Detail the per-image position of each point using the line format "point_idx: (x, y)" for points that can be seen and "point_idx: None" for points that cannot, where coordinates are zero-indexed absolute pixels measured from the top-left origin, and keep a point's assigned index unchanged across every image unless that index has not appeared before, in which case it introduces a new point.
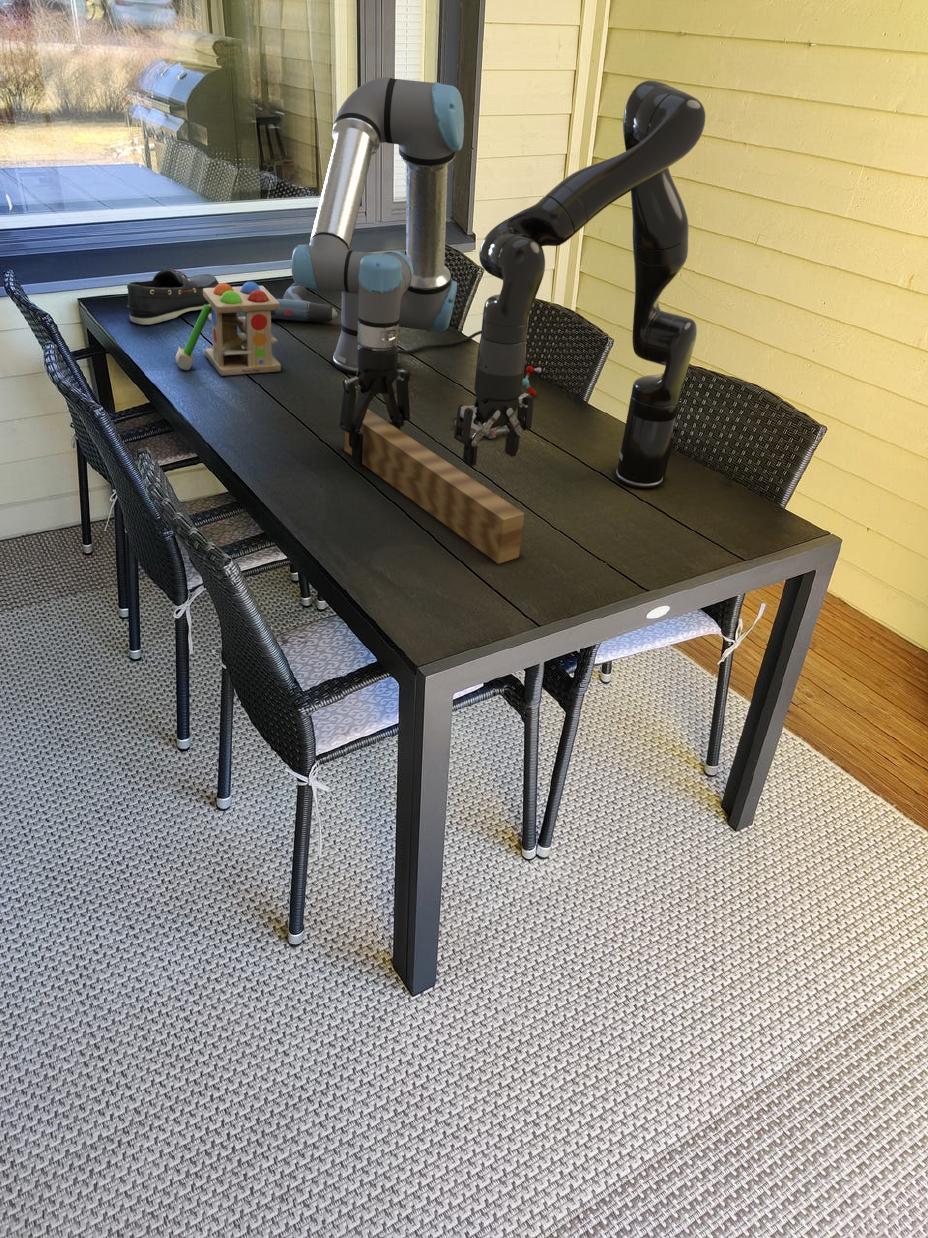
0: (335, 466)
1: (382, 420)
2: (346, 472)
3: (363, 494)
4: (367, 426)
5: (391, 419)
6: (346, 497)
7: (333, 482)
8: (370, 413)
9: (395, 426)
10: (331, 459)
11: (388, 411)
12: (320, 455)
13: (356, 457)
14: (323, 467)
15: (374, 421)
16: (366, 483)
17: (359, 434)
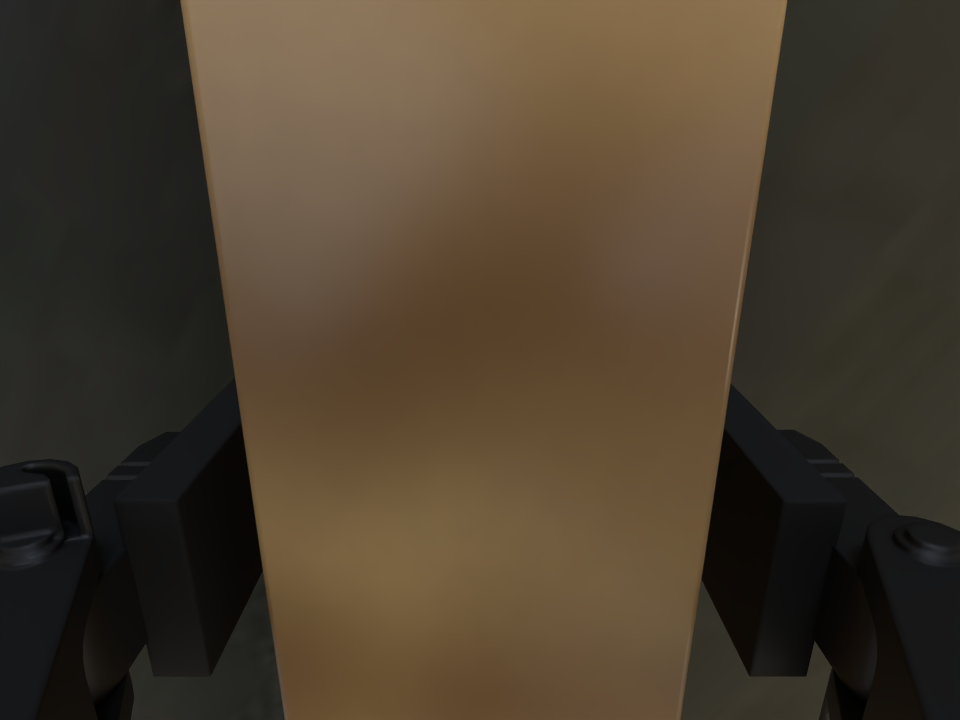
0: (148, 287)
1: (649, 636)
2: (194, 416)
3: (177, 703)
4: (284, 704)
5: (859, 576)
6: None
7: None
8: (658, 284)
9: (775, 669)
10: (164, 144)
11: (900, 694)
12: (89, 6)
13: None
14: (39, 258)
15: (496, 615)
16: (261, 605)
17: (153, 669)
